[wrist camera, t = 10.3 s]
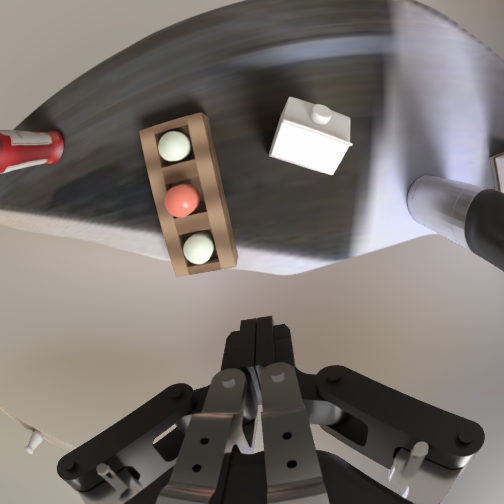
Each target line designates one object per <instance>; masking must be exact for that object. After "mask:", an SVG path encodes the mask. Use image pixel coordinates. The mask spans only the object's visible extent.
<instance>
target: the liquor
mask: <svg viewBox="0 0 504 504" xmlns="http://www.w3.org/2000/svg"><path fill="white" fill-rule="evenodd" d="M63 146H64V144H63V138H62V136H61V134H60V133H59V132H58V131H55V130H52V131H49V132H29V131H15V130H0V174H2V173H6V172H9V171H13V170H17V169H20V168H24V167H29V166H33V165H39V164H44V163H46V164H48V165H52V164H55V163H56V162H57V161H58V160H59V159H60V157H61V155H62V152H63Z"/></svg>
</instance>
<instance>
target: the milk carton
mask: <svg viewBox="0 0 504 504" xmlns="http://www.w3.org/2000/svg"><path fill="white" fill-rule="evenodd" d="M352 145H353V144H352V143H350V118H349V117H347V116H344V115H342V114H339V113H337V112H334V111H332V110H330V109H329V108H328V107H326V106H324V105H320V104H316V105H315V104H312V103H309V102H306V101H303V100H300V99H297V98H294V97H289V98H288V101H287V103H286V105H285V107H284V109H283V112H282V114H281V116H280V119H279V123H278V126H277V129H276V132H275V136H274V139H273V142H272V145H271V149H270V152H269V156H270V157H273V158H277V159H280V160H283V161H286V162H289V163H293V164H296V165H299V166H302V167H305V168H308V169H311V170H315V171H319V172H323V173H326V174H330V175H333V174H334V172H335V170H336V169H337V167H338V165H339V163H340V162H341V160H342V158H343V156H344V154H345V153H346V151H347V149H348V147H349V146H352Z"/></svg>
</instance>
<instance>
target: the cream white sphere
mask: <svg viewBox="0 0 504 504" xmlns="http://www.w3.org/2000/svg"><path fill="white" fill-rule="evenodd" d="M214 248H215V242H214V238H213V236H212V235H211V234H210V233H208V232H206V231H196V232H194V233H193V234H192V235H191V236H190V237H189V238H188V240H187V241H186V242H185V244H184V247H183V251H184V255H185V257H186V258H187V259H188V260H189V261H190V262H192V263H194V264H203V263H205V262H207V261H208V260H209V258H210V257H211V255H212V253H213V251H214Z"/></svg>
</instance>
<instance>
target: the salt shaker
mask: <svg viewBox="0 0 504 504" xmlns="http://www.w3.org/2000/svg"><path fill="white" fill-rule="evenodd" d="M42 440H43V434H42V433H41V432H39V431H38V430H36V431H34V432H33V433H32V436H31V439H30V441H29V444H28V446H26V447H25V450H26V451H27V452H28V453H30V454H33V452H34V451H33V450H34V449H35V448H36V447H37V446H38V445H39V444H40V443H41V442H42Z"/></svg>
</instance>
